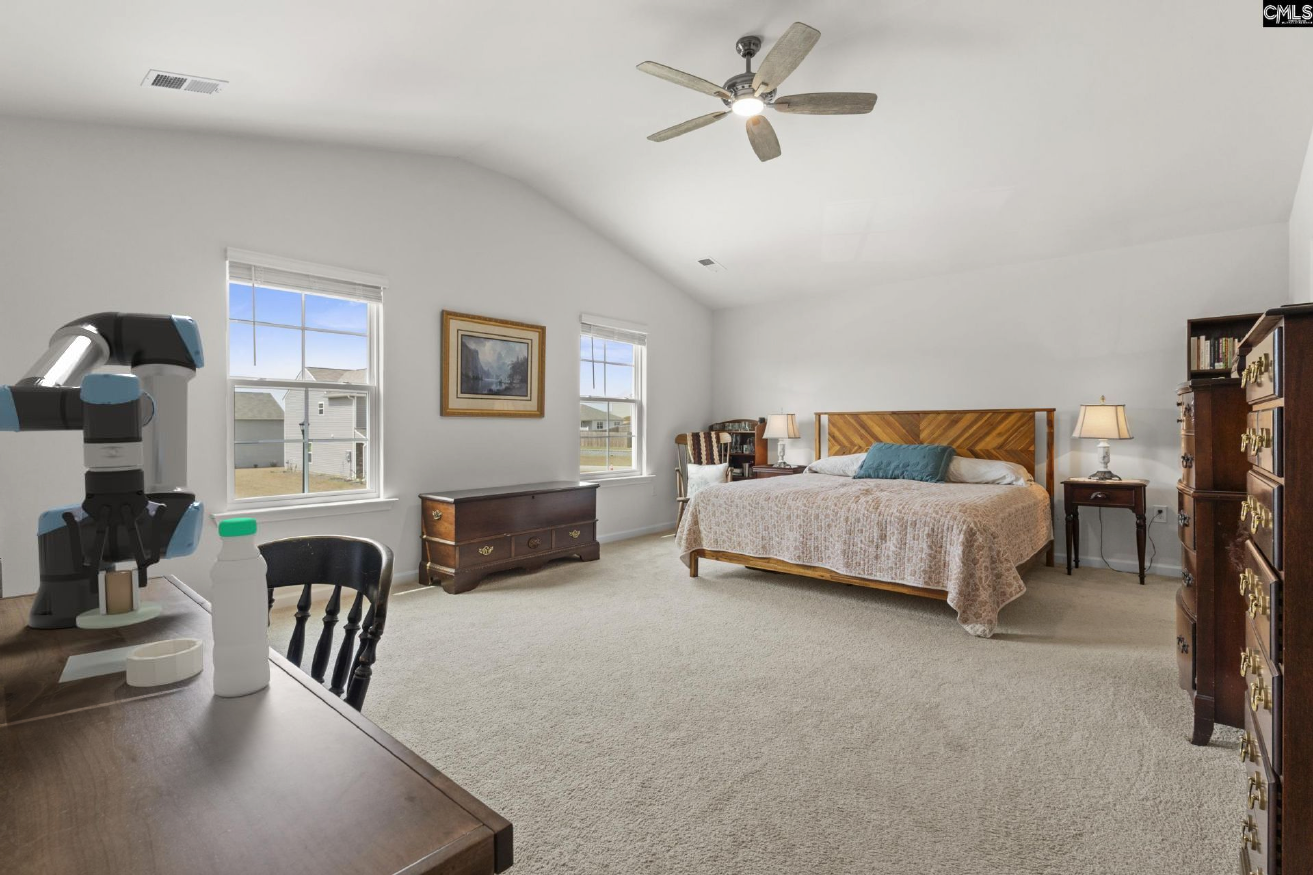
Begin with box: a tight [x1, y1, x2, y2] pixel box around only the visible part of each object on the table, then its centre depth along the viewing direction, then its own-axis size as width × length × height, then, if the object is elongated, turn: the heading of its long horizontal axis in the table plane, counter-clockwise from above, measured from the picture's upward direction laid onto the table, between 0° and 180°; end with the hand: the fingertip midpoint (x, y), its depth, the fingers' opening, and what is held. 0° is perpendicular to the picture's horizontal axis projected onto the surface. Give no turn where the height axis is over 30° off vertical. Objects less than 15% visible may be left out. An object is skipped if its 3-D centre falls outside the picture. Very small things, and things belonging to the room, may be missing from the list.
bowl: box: [125, 637, 204, 688], centre depth 102 cm, size 9×9×4 cm
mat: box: [58, 641, 155, 684], centre depth 109 cm, size 14×14×1 cm
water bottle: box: [209, 517, 271, 698], centre depth 97 cm, size 7×7×25 cm
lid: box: [76, 569, 163, 630], centre depth 109 cm, size 11×11×8 cm
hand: (120, 609), depth 109 cm, fingers closed on lid, 3 cm apart
